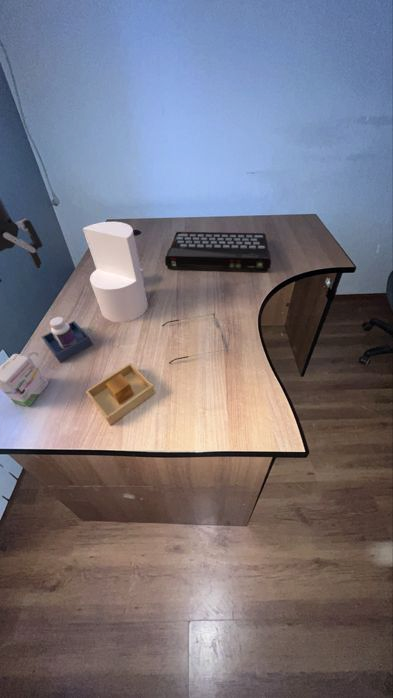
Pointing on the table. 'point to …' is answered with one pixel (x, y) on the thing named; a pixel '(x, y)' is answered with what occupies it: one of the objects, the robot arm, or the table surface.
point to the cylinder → (116, 271)
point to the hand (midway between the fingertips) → (19, 273)
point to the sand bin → (116, 411)
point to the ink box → (21, 380)
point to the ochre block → (119, 388)
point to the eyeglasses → (216, 326)
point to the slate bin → (64, 354)
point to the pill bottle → (62, 332)
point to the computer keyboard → (219, 252)
